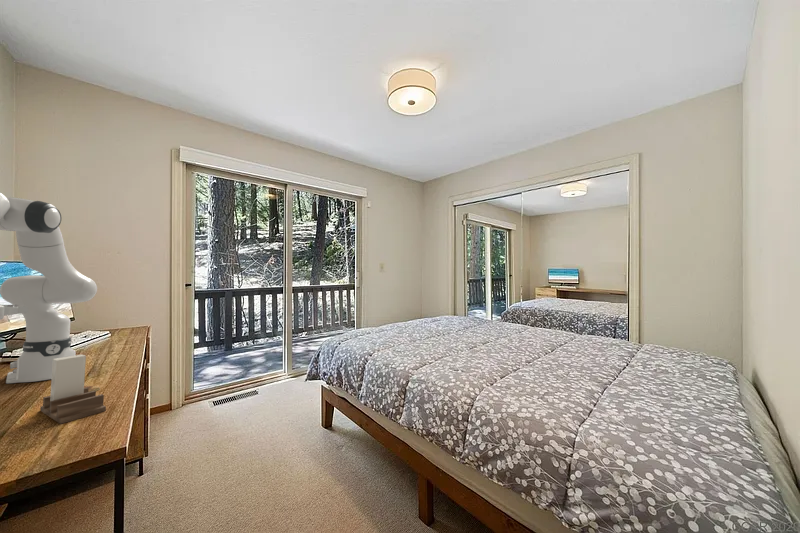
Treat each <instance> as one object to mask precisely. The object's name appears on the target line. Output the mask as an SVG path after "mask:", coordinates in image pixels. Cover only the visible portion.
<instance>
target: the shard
mask: <svg viewBox="0 0 800 533" xmlns="http://www.w3.org/2000/svg"><path fill="white" fill-rule="evenodd" d="M86 387H87V388H88V392H91V391H96V392H97V391H99V390H100V389H101V387H99V386H96V385H84V388H86Z"/></svg>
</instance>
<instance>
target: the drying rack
mask: <svg viewBox="0 0 800 533" xmlns="http://www.w3.org/2000/svg"><path fill="white" fill-rule="evenodd" d="M104 398H105V395H104V394H97V391H91V392H88V388H87V387H86V388H84V393H83V394H78V395H74V396H70V397H66V398H62V399H58V400H53V401H50V395H49V396H43V399H42V405H41V406H40V409H39V410H40V412H42V413H43V414H44V415H46V416H48V417H49V418H50V419H53V421H56V422H57V423H58V424H60V425H61V424H65V423H69V422H71V421H75V420H78V419H82V418H85V417H88V416H92V415H95V414H99V413H100V414H101V413H103V412H106V411H107V408H106V407H107V406H106V405H104Z"/></svg>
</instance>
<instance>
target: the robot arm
mask: <svg viewBox="0 0 800 533" xmlns="http://www.w3.org/2000/svg"><path fill="white" fill-rule="evenodd" d="M61 222H62V214H61V212H60V210H59V209H58V208H57V206H55V205H53V204H52V203H48V202H45V201H41V200H32V199H27V198H22V197H21V198H20V197H13V196H12V197H11V196H10V197H7V196H6V195H4V194H3V193H1V192H0V231H8V232H15V237H16V238H15V239H16V243H17V247H18V251H19V254H20V259H21V263H22V264H23V265H24V266H25V267H26V268H28V269H31V270H33V271H36V272H38V273H40V274H41V275H34V274H33V275H32V274H31V275H30V274H29V275H21V276H12V277H9V278H7V279H6V280H4V281H3V282H2V284H1V285H0V296H1V298H2V299H3V300H4V301H5V302H7V303H8V304H0V320H3V319H4V318H5V317H4V316H12V315H19V314H20V315H21V314H22V316H23V318H24V320H25V341H24V342H23V345H22V352H21V354H20V355H19V357H18V358H17V360H14V361H13V362H10V365H9V369H11V370H12V371H9V372H7V376H6V380H5V384H16V383H31V382H41V381H47V380H52V364H53V359H56V358H62V357H69V356H75V355H77V354H76V350H75V349H72V348H71V346H72V337H71V334H70V333H71V324H72V323H71V322H72V321H71V319H70V317H69V316H68V315H66V314H64V313H61V312H58V311H57V310H56V309H55V308H54V306H53V305H56V304H79V303H83V302H89V301H90V300H92V299H93V298H94V297H96V294H97V292H98V285H97V283H96V281H95V280H93V279H92V278H91V277H88V276H86V275H84V274H83V273H82V272H80V271H79V270H77V269H76V268H75V267H74V265H73V264H72V263H71V262H70V259H69V257H68V253H67V251H66V250H67V249H66V247H65V241H64V237H63V233H62V231H61V228H60V225H61Z"/></svg>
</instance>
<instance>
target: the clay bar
mask: <svg viewBox="0 0 800 533" xmlns="http://www.w3.org/2000/svg"><path fill="white" fill-rule="evenodd" d="M86 359H87V356H86V355H85V354H76V355H75V356H69V357H62V358H56V359H53V364H52V379H50V380H51V383H50V395H49V396H50V401H53V400H58V399H62V398H66V397H70V396H74V395H78V394H83V393H84V386H85V378H86V377H85V376H86Z"/></svg>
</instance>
